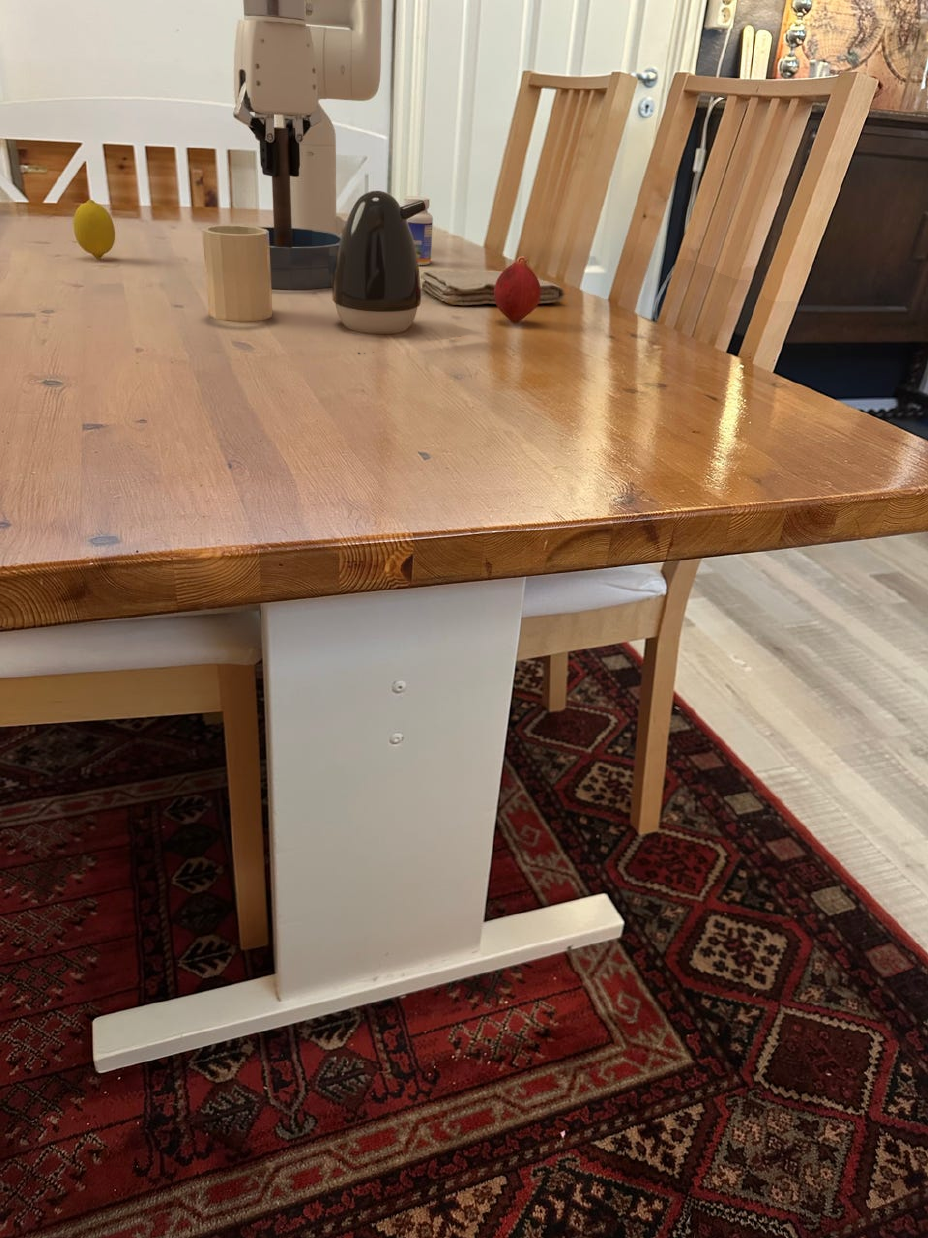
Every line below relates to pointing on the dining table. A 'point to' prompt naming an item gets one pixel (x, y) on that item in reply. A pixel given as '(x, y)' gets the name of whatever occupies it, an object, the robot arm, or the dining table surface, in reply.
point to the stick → (282, 191)
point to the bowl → (303, 260)
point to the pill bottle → (421, 230)
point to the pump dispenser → (377, 266)
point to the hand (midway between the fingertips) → (280, 174)
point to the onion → (517, 291)
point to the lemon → (94, 229)
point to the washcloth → (476, 287)
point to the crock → (238, 272)
